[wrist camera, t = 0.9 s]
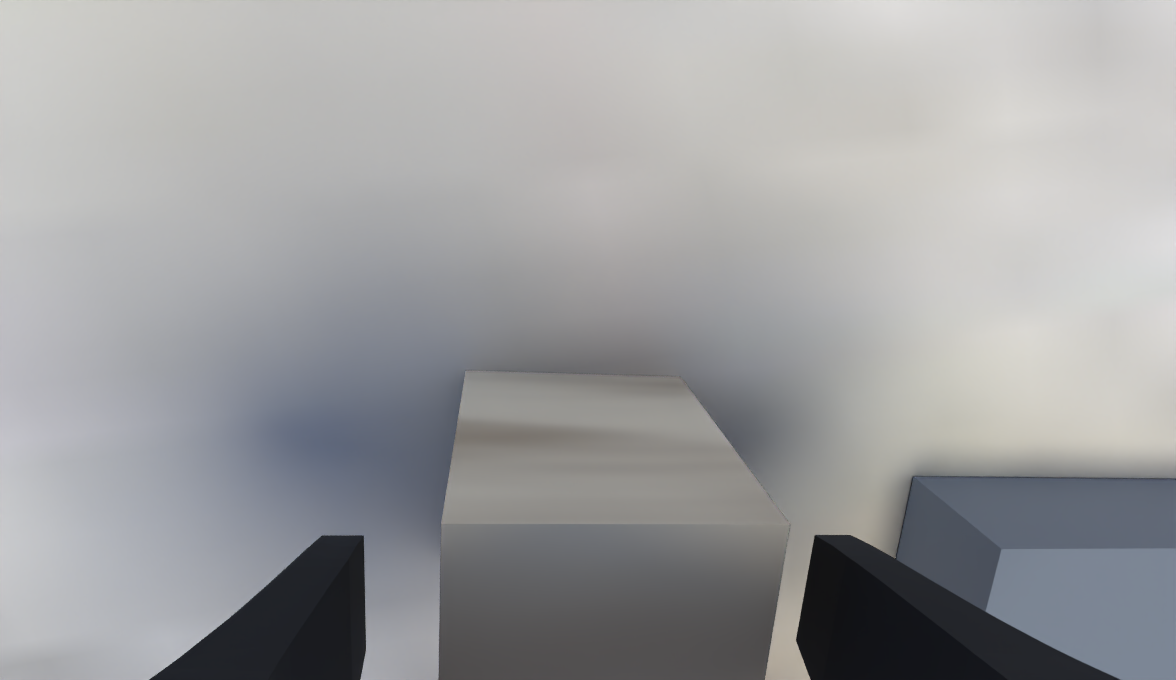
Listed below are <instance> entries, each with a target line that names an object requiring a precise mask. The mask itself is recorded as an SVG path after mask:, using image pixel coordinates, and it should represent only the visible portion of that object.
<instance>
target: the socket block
mask: <svg viewBox="0 0 1176 680" xmlns="http://www.w3.org/2000/svg"><path fill="white" fill-rule="evenodd" d="M896 560H898V561H900V562H901V563H903V564H905V565H906V566H908V567H910V568H911V569H913V570H915V571H916V572H918V573H920V574H922V575H923V576H925V577H927V578H928V579H930V580H932V581H933V582H935V583H937V584H939V585H940V586H942V587H944V588H945V589H947V590H949V591H950V592H952V593H954V594H956V595H957V596H959V597H961V598H962V599H964V600H966V601H968V602H969V603H971V604H973V605H975V606H976V607H978V608H980V609H982V610H983V611H985V612H987V613H989V614H991V615H992V616H994V617H996V618H998V619H1000V620H1001V621H1003V622H1005V623H1007V624H1009V625H1011V626H1013V627H1014V628H1016V629H1018V630H1020V631H1022V632H1024V633H1026V634H1028V635H1029V636H1031V637H1033V638H1035V639H1037V640H1039V641H1041V642H1043V643H1045V644H1046V645H1048V646H1050V647H1052V648H1054V649H1056V650H1058V651H1060V652H1063V653H1065V654H1067V655H1069V656H1071V657H1073V658H1075V659H1077V660H1079V661H1081V662H1083V663H1086V664H1088V665H1090V666H1092V667H1094V668H1096V669H1099V670H1101V671H1103V672H1105V673H1107V674H1109V675H1112V676H1114V677H1116V678H1118V679H1120V680H1176V479H1095V478H998V477H913V482H912V486H911V491H910V496H909V501H908V505H907V510H906V515H905V519H904V524H903V529H902V534H901V538H900V543H899V548H898V553H897V557H896Z"/></svg>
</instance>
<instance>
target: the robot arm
mask: <svg viewBox="0 0 1176 680" xmlns="http://www.w3.org/2000/svg"><path fill="white" fill-rule="evenodd" d="M796 642H797V644H798V647H799V650H800V652H801V655H802V658H803V660H804V663H805V666H806V669H807V671H808V674H809V676H810V679H811V680H1120V679H1118V678H1116V677H1114V676H1112V675H1109V674H1107V673H1105V672H1103V671H1101V670H1099V669H1096V668H1094V667H1092V666H1090V665H1088V664H1086V663H1083V662H1081V661H1079V660H1077V659H1075V658H1073V657H1071V656H1069V655H1067V654H1065V653H1063V652H1060V651H1058V650H1056V649H1054V648H1052V647H1050V646H1048V645H1046V644H1045V643H1043V642H1041V641H1039V640H1037V639H1035V638H1033V637H1031V636H1029V635H1028V634H1026V633H1024V632H1022V631H1020V630H1018V629H1016V628H1014V627H1013V626H1011V625H1009V624H1007V623H1005V622H1003V621H1001V620H1000V619H998V618H996V617H994V616H992V615H991V614H989V613H987V612H985V611H983V610H982V609H980V608H978V607H976V606H975V605H973V604H971V603H969V602H968V601H966V600H964V599H962V598H961V597H959V596H957V595H956V594H954V593H952V592H950V591H949V590H947V589H945V588H944V587H942V586H940V585H939V584H937V583H935V582H933V581H932V580H930V579H928V578H927V577H925V576H923V575H922V574H920V573H918V572H916V571H915V570H913V569H911V568H910V567H908V566H906V565H905V564H903V563H901V562H900V561H898V560H896V559H894V558H893V557H891V556H889V555H887V554H886V553H884V552H882V551H880V550H879V549H877V548H875V547H873V546H871V545H869V544H867V543H865V542H864V541H862V540H859V539H857V538H855V537H853V536H851V535H815V537H814V543H813V548H812V554H811V560H810V565H809V571H808V576H807V582H806V588H805V593H804V599H803V604H802V610H801V616H800V621H799V627H798V632H797V638H796ZM365 652H366V629H365V578H364V536H321V537H320V538H319V539H318V540H317V541H315V542H314V543H313V544H312V545H311V546H310V547H309V548H307V549H306V550H305V551H304V552H303V553H302V554H301V555H300V556H299V557H298V558H296V559H295V560H294V561H293V562H292V563H291V564H290V565H289V566H288V567H287V568H286V569H284V570H283V571H282V572H281V573H280V574H279V575H278V576H277V577H276V578H275V579H274V580H272V581H271V582H270V583H269V584H268V585H267V586H266V587H265V588H264V589H262V590H261V591H260V592H259V593H258V594H257V595H256V596H254V597H253V598H252V599H251V600H250V601H249V602H248V603H246V604H245V605H244V606H243V607H242V608H241V609H240V610H238V611H237V612H236V613H235V614H234V615H233V616H231V617H230V618H229V619H228V620H227V621H225V622H224V623H223V624H222V625H220V626H219V627H218V628H217V629H215V630H214V631H213V632H211V633H210V634H209V635H208V636H206V637H205V638H204V639H203V640H201V641H200V642H199V643H198V644H196V645H195V646H194V647H193V648H191V649H190V650H189V651H188V652H186V653H185V654H184V655H183V656H181V657H180V658H179V659H177V660H176V661H175V662H173V663H172V664H170V665H169V666H168V667H166V668H165V669H164V670H162V671H161V672H159V673H158V674H157V675H155V676H154V677H152V678H151V679H149V680H360V678H361V673H362V668H363V662H364V657H365Z"/></svg>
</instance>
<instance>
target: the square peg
mask: <svg viewBox="0 0 1176 680" xmlns="http://www.w3.org/2000/svg"><path fill="white" fill-rule="evenodd" d="M789 529H790V523H789V522H788V521H787V519H786V518H785V517H784V515H783V514H782V513H781V511H780V510H779V509H778V507H777V506H776V505H775V503H774V502H773V500H772V499H771V498H770V496H769V495H768V494H767V492H766V491H765V490H764V488H763V487H762V486H761V484H760V483H759V482H758V480H757V479H756V478H755V476H754V475H753V474H752V472H751V471H750V469H749V468H748V467H747V465H746V464H745V463H744V461H743V460H742V459H741V457H740V456H739V455H738V453H737V452H736V451H735V449H734V448H733V447H732V445H731V444H730V443H729V441H728V440H727V438H726V437H725V436H724V434H723V433H722V432H721V430H720V429H719V428H718V426H717V425H716V424H715V422H714V421H713V420H712V418H711V417H710V416H709V414H708V413H707V412H706V410H705V409H704V407H703V406H702V405H701V403H700V402H699V401H698V399H697V398H696V397H695V395H694V394H693V393H692V391H691V390H690V389H689V387H688V386H687V385H686V383H685V382H684V381H683V379H682V378H681V377H678V376H644V375H609V374H575V373H540V372H506V371H472V370H466V371H465V378H464V384H463V390H462V396H461V403H460V409H459V415H458V421H457V427H456V434H455V440H454V446H453V452H452V459H451V465H450V471H449V477H448V484H447V490H446V496H445V502H444V508H443V515H442V521H441V558H440V626H439V680H765V675H766V669H767V662H768V656H769V650H770V644H771V638H772V632H773V626H774V620H775V614H776V608H777V602H778V596H779V590H780V583H781V577H782V571H783V565H784V559H785V553H786V547H787V541H788V535H789Z"/></svg>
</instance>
